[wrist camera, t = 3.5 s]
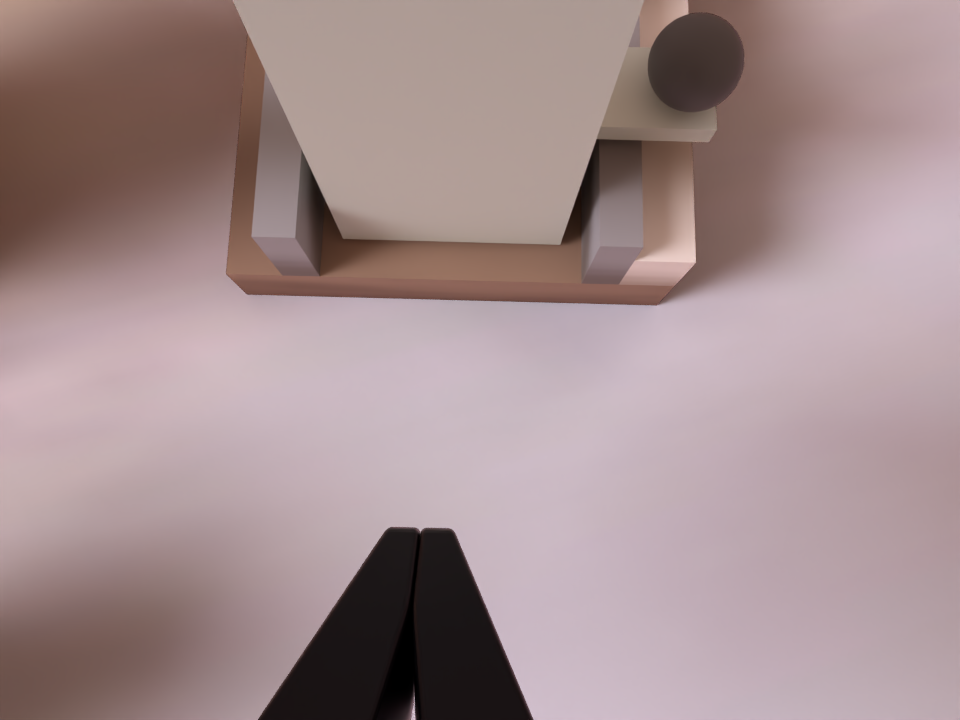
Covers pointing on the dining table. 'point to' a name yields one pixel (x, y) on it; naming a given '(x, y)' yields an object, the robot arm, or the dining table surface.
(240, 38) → the dining table surface
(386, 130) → the carriage
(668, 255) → the stand
